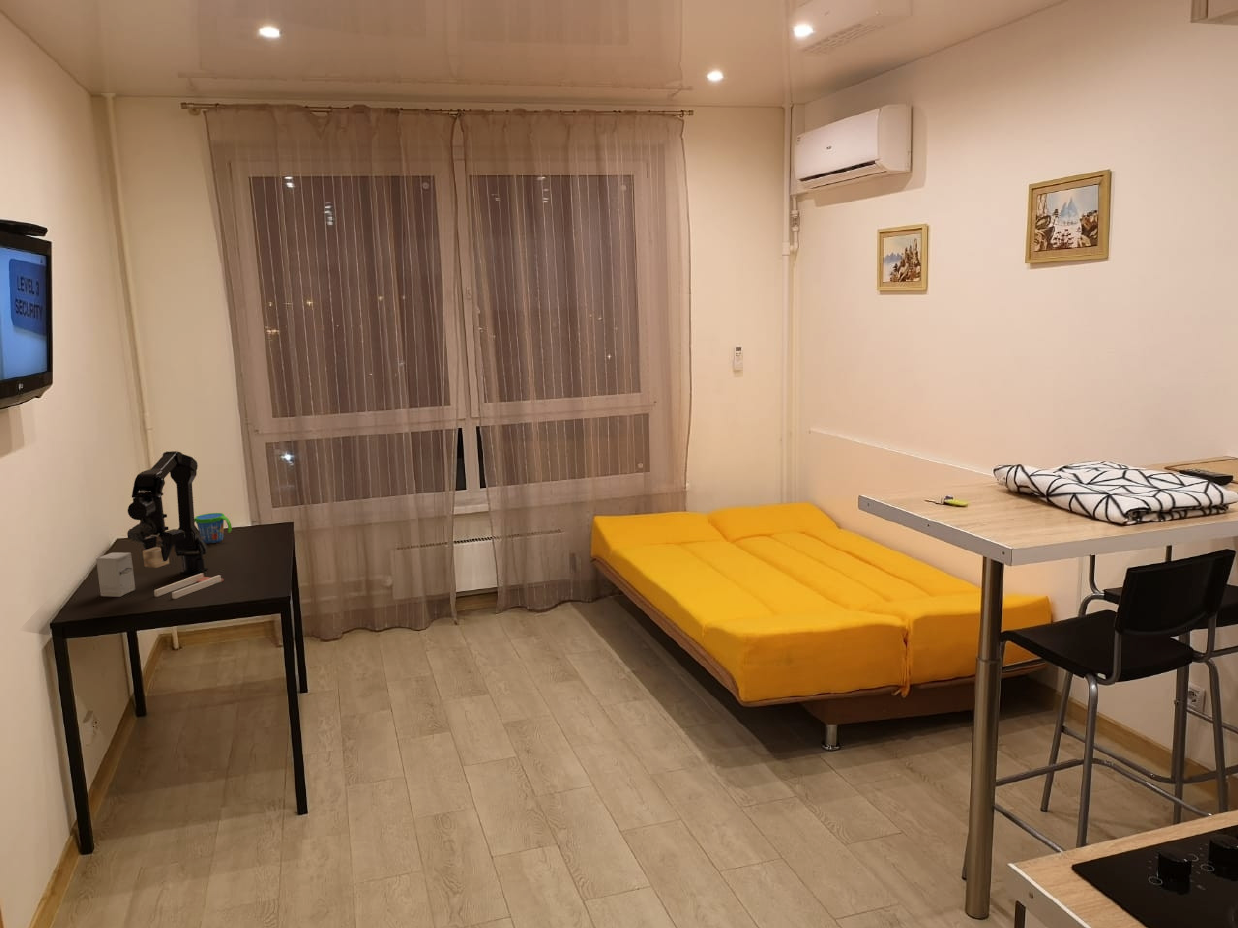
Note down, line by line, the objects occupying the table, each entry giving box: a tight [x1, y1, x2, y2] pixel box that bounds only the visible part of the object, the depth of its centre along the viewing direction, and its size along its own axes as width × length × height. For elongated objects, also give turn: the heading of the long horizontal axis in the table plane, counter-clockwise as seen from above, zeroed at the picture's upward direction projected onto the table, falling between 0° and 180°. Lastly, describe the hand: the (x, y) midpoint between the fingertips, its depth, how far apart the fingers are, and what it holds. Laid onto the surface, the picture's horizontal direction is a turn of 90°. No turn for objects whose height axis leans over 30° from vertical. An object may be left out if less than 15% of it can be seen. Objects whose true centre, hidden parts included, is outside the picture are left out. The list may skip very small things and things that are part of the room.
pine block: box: [142, 546, 170, 569], centre depth 299 cm, size 5×5×5 cm
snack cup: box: [194, 512, 233, 544], centre depth 365 cm, size 16×10×10 cm
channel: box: [153, 572, 225, 600], centre depth 306 cm, size 9×20×2 cm, turn 158°
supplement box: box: [95, 552, 136, 598], centre depth 303 cm, size 7×7×13 cm
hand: (159, 560), depth 300 cm, fingers closed on pine block, 5 cm apart
